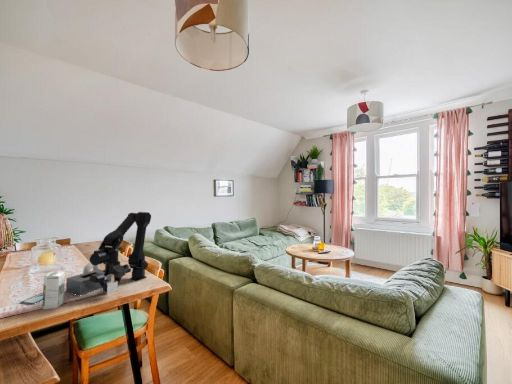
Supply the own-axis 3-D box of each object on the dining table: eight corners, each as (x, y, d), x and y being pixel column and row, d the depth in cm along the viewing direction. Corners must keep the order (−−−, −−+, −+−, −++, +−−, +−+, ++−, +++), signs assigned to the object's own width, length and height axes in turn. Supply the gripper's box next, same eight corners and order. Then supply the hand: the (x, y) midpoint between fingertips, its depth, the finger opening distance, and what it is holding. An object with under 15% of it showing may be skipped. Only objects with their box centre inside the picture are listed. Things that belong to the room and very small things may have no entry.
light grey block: (114, 289, 125) (114, 280, 125) (117, 290, 124) (117, 281, 124) (103, 293, 119) (104, 283, 120) (107, 294, 118) (107, 284, 118)
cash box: (97, 281, 135) (98, 269, 135) (110, 285, 130) (111, 272, 130) (66, 291, 120) (66, 278, 120) (79, 296, 116) (79, 282, 116)
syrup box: (48, 304, 107) (49, 272, 107) (64, 302, 109) (65, 271, 109) (41, 310, 102) (42, 276, 102) (58, 308, 104) (59, 275, 104)
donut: (86, 282, 133) (86, 264, 133) (81, 281, 134) (81, 263, 134) (100, 276, 143) (101, 259, 143) (96, 275, 144) (96, 259, 144)
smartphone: (18, 302, 107) (51, 288, 122) (18, 304, 107) (51, 290, 122) (32, 304, 106) (63, 289, 121) (32, 306, 106) (63, 291, 121)
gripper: (104, 267, 110) (103, 300, 110) (138, 257, 127) (137, 286, 127) (89, 263, 114) (87, 296, 114) (124, 254, 131) (123, 282, 131)
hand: (110, 290), depth 122 cm, fingers closed on light grey block, 5 cm apart
